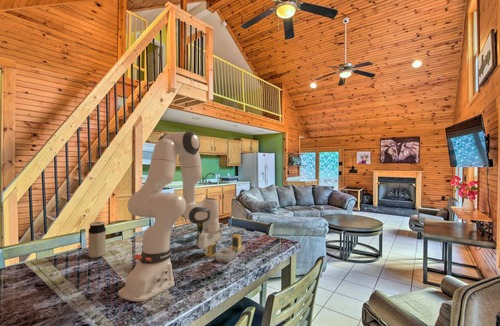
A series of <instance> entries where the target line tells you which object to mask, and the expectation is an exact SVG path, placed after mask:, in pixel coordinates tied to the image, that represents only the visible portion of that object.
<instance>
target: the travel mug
mask: <svg viewBox="0 0 500 326" xmlns="http://www.w3.org/2000/svg"><path fill="white" fill-rule="evenodd" d="M105 224H106V222H105V221H101V220H99V221H93V222H90V223H89V228H88V257H89V258H93V259H95V258H100V257H103V256H105V255H106V237H107V236H106V235H107V234H106V233H107V232H106V230H107V229H106V228H107V227H105V226H106V225H105Z"/></svg>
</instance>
